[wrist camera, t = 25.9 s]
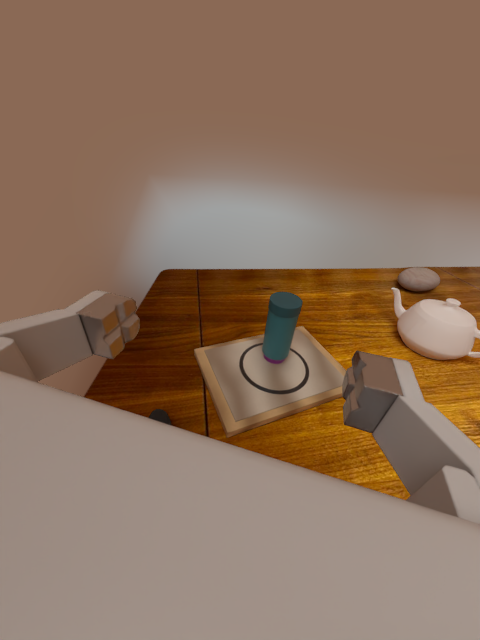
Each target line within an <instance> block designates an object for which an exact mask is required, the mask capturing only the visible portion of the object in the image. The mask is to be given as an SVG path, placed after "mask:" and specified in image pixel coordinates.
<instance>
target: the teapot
mask: <svg viewBox="0 0 480 640" xmlns="http://www.w3.org/2000/svg"><path fill="white" fill-rule="evenodd" d="M391 289H392V291H393V293H394V309H395V314H396V316H397V317H398V318H399V319H398V323H397V329H398V332H399V335H400V336H401V339H402V341H403V342H404V343H405V345H406V346H407V347H409V348H410V349H411V350H413V351H415V352H416V353H418V354H420V355H422V356H425V357H428V358H431V359H436V360H447V359H457V358H461V357H463V356H465V355H468V356H470V357H475V358H480V352H471V349H472V347H473V345H474V341H475V337H477V338H479V339H480V330H478V329H477V324H476V320H475V318H474V317H473V316H472V315H471V314H470V313H469V312H467V311H466V310H464V309H462V308H460V307H458V306H459V305H460V304H461V303H460V302H459V301H457V300H455V299H451V298H448V299H447V300H446V302H444V301H440V300H434V299H426V300H422V301H420V302H418V303H416V304H415V305H413V306H412V307H411V308H409V309H408V310H405V309H404V308H403V307H402V305H401V296H400V291H399V289H397V288H391Z"/></svg>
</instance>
